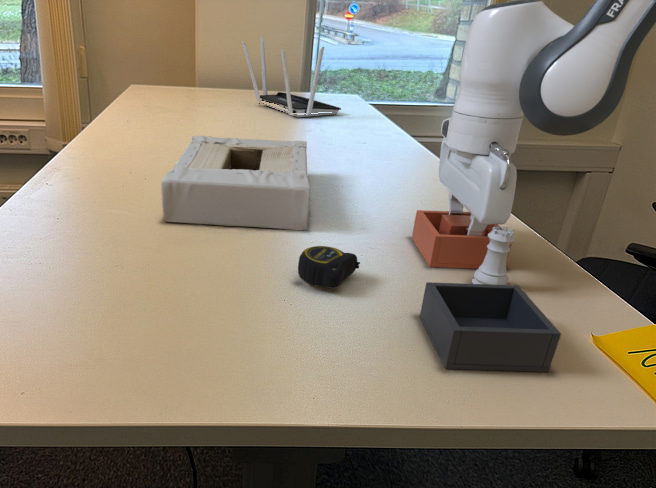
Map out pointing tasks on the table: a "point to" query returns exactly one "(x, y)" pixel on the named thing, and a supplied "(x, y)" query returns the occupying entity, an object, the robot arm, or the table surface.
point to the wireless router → (286, 99)
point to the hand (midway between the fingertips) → (462, 231)
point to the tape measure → (326, 266)
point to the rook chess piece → (495, 258)
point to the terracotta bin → (449, 242)
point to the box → (239, 184)
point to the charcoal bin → (487, 327)
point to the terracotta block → (454, 224)
